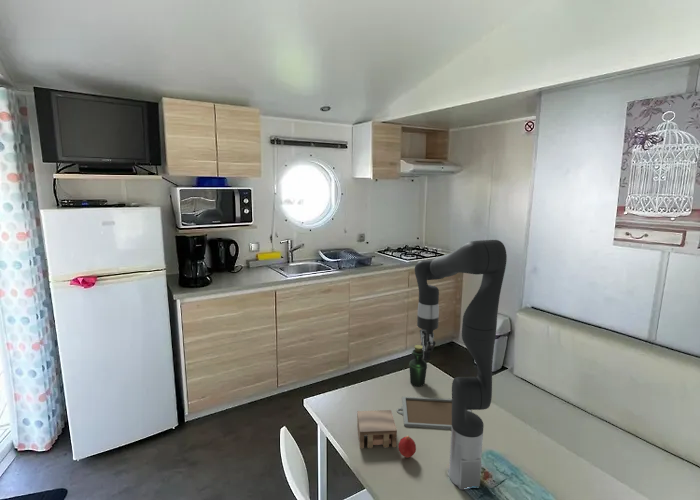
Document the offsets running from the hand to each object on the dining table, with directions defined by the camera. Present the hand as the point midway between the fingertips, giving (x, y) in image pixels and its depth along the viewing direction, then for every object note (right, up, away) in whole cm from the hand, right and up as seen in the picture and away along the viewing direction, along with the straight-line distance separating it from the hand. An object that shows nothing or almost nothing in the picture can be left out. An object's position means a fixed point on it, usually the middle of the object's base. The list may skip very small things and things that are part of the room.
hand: (426, 359), depth 136 cm
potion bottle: (+3, -22, +35) cm, 42 cm away
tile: (-17, -28, +1) cm, 33 cm away
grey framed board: (+6, -26, +13) cm, 30 cm away
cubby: (-19, -28, -2) cm, 33 cm away
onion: (-9, -29, -12) cm, 33 cm away
